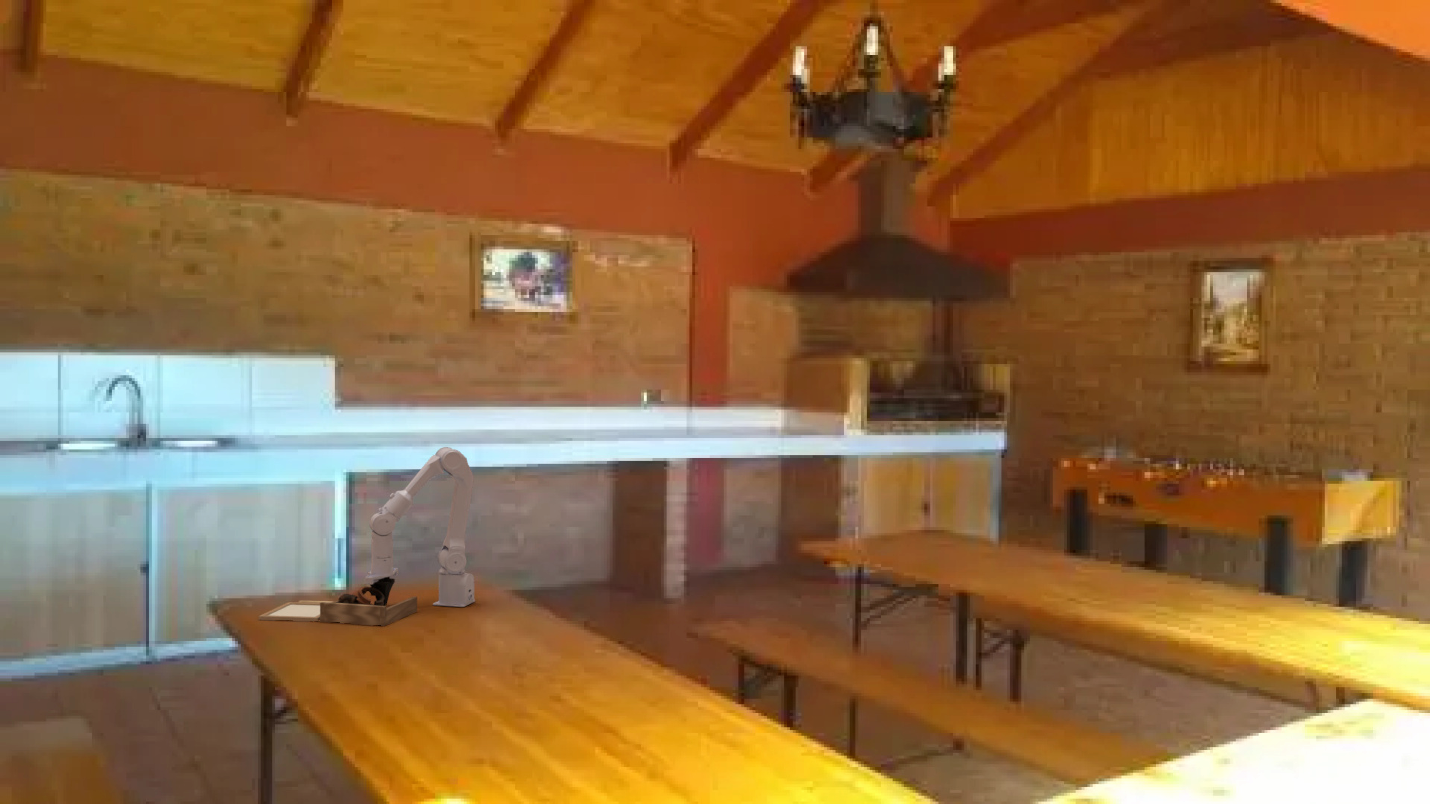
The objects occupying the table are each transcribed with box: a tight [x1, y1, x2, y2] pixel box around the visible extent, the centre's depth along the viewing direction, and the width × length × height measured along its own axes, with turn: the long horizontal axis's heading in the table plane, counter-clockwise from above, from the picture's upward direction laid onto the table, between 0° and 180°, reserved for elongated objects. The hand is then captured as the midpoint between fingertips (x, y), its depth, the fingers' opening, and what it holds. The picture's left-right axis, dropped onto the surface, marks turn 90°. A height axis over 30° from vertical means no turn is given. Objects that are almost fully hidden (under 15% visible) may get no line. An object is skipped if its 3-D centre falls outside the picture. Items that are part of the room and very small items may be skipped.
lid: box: [258, 600, 335, 623], centre depth 304 cm, size 16×20×1 cm
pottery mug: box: [337, 586, 385, 606], centre depth 302 cm, size 12×10×8 cm
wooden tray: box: [320, 596, 418, 627], centre depth 300 cm, size 18×18×5 cm
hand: (382, 605), depth 309 cm, fingers closed
